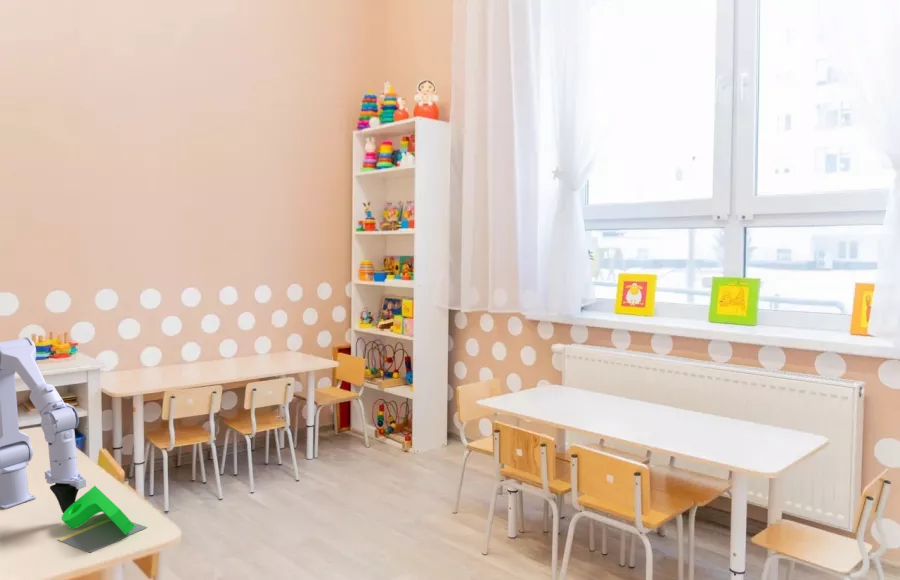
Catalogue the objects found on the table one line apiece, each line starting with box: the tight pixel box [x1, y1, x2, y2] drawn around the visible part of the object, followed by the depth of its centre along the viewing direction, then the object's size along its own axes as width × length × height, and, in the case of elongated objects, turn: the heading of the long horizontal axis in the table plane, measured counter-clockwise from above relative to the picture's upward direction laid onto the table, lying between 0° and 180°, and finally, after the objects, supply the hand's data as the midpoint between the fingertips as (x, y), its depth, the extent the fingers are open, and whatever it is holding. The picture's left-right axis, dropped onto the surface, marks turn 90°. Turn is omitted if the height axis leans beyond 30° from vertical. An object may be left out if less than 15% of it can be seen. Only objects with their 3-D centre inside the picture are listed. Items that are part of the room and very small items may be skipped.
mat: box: [57, 517, 148, 554], centre depth 160 cm, size 13×14×1 cm
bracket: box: [61, 485, 135, 535], centre depth 162 cm, size 20×10×7 cm
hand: (68, 511), depth 167 cm, fingers closed
